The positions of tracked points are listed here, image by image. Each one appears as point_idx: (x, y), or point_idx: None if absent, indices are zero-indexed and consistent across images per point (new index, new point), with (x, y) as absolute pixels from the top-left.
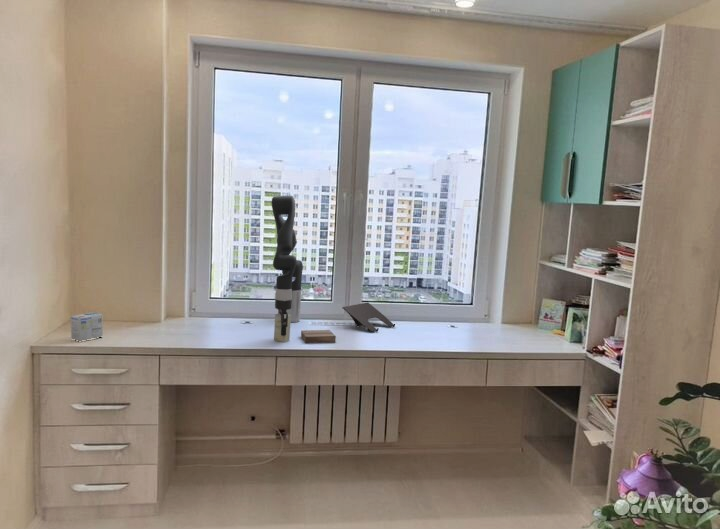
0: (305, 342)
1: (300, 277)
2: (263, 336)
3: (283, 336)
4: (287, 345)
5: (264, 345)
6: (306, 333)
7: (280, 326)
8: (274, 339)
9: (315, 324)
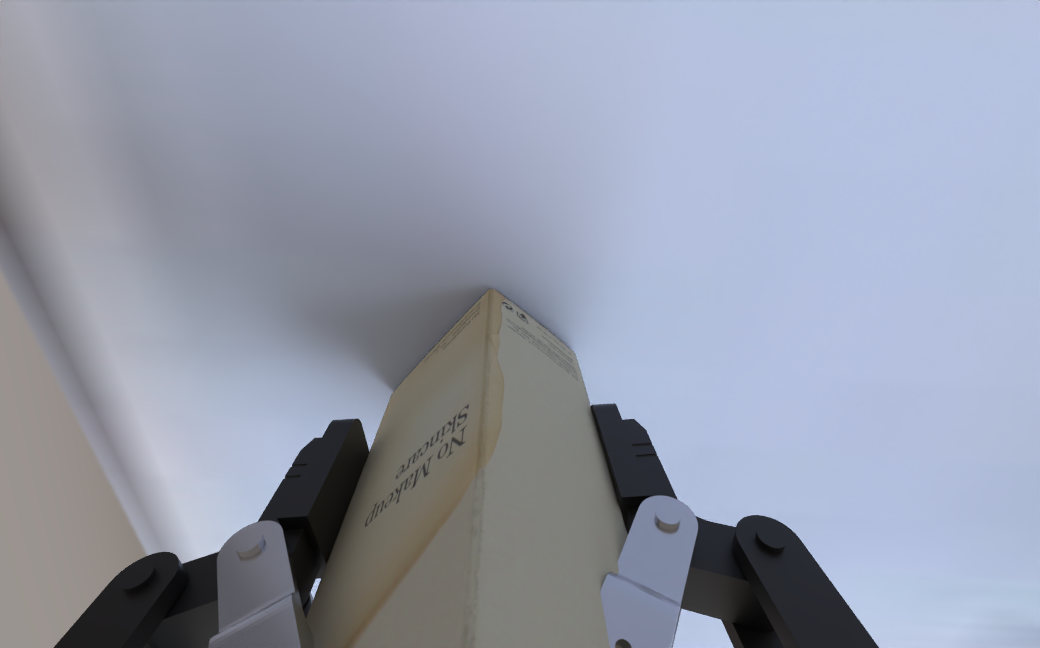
0: None
1: None
2: (722, 153)
3: (383, 430)
4: (261, 414)
5: (183, 134)
6: None
7: (380, 510)
8: (482, 298)
9: (1009, 643)
